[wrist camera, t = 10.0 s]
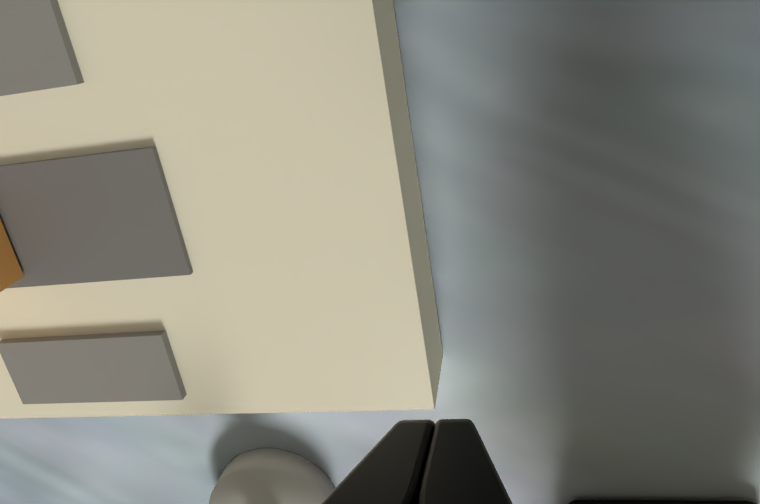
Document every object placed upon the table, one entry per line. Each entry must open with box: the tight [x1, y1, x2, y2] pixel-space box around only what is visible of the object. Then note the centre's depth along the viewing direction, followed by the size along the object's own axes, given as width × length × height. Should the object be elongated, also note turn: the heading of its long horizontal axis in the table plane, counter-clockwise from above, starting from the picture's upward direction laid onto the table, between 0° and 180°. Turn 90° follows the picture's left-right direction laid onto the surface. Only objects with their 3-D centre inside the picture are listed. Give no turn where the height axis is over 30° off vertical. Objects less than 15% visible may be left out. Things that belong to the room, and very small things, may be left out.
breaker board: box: [0, 0, 443, 419], centre depth 21 cm, size 22×14×3 cm, turn 100°
